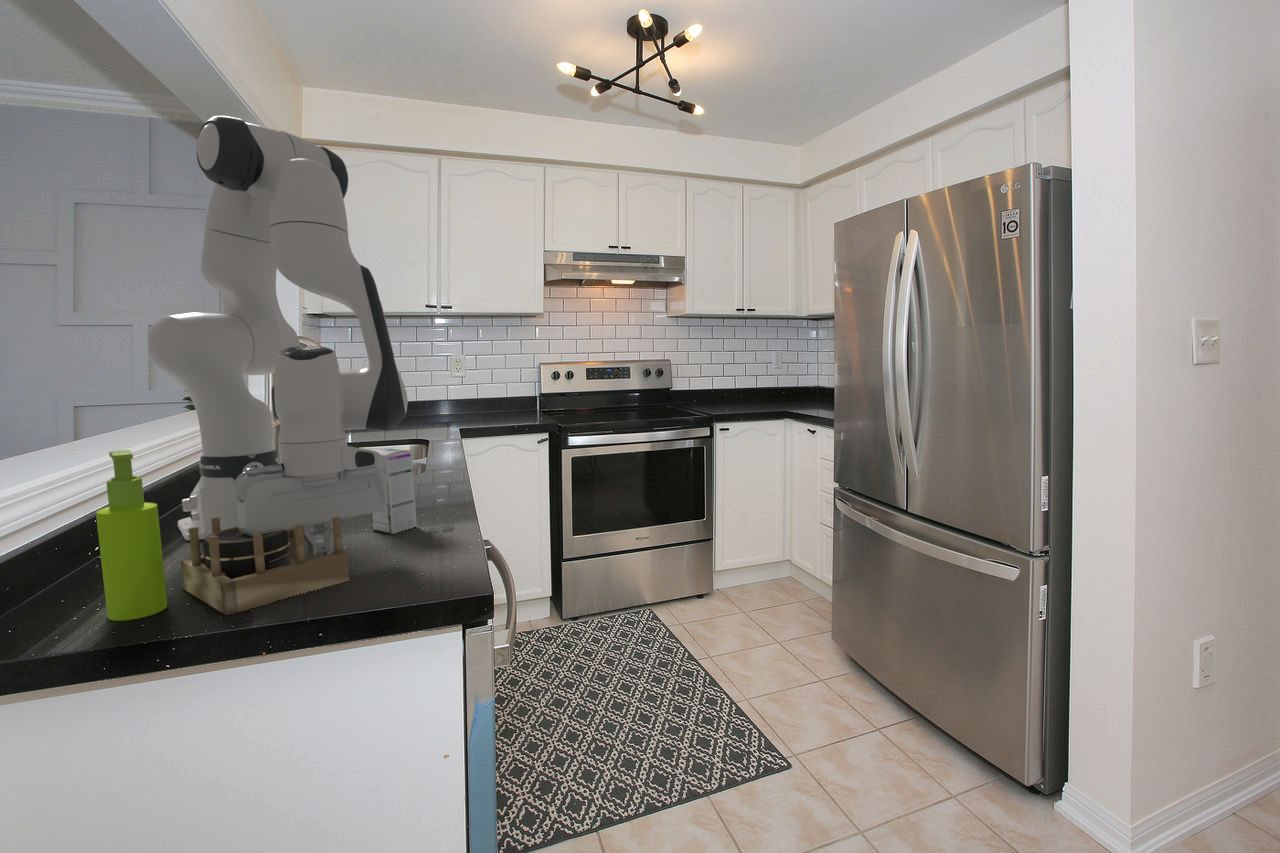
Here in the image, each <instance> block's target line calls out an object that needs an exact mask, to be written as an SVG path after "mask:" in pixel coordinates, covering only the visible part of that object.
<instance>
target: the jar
mask: <svg viewBox="0 0 1280 853" xmlns="http://www.w3.org/2000/svg"><path fill="white" fill-rule="evenodd" d="M210 536H218V541H219V552H220V563H221V574H222V575H224V576H226V577H228V578H230V579H234V578H238V577H242V576H246V575H250V574H254V573H256V566H255V555H254V543H253V536H248V535H245V534H243V533H242V532H241V531H239V529H238V527H235V528H230V529H226V530H222V531H218V532H215V533H213V534H210V535H209V536H207V537H206V538H205V539H203V542H202V544H203V546H202V548H203V553H202V554H203V555H202V556H204V558H205V566H206V567H207V568H209V569H211V560H210V549H209V539H208V537H210ZM262 539H263V551H264V563H265V571H266V570H270V569H274V568H278V567H282V566H286V565H290V552H289V544H290V541H289V531H286V530H279V531H275V532H270V533H265V534H262Z"/></svg>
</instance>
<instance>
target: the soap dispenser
mask: <svg viewBox="0 0 1280 853" xmlns="http://www.w3.org/2000/svg"><path fill="white" fill-rule="evenodd" d="M108 455H109V458H111V459H112V462H113V473H114V477H111V479H109V480H107V481H106V483H105V484H106V492H107V500H108V506H107V507H104V508H100V509H98V510H97V511H96V512H95V517H96V519H95V520H96V527H97V535H98V543H99V544H98V546H99V555H100V562H101V570H102V571H101V572H102V581H103V586H104V587H103V590H104V598H105V606H106V607H105V608H106V616H107V619H108V620H109V621H115V622H116V621H117V622H121V621H123V622H125V621H132V620H133V621H134V620H137V619H141V618H146V617H150V616H152V615H156V614H157V613H160V612H163V611H164V610H166V608H167V607H168V598H167V597H168V596H167V587H166V578H165V568H164V567H165V566H164V559H163V549H162V548H163V547H162V538H161V528H160V527H161V526H160V519H159V508H158V504H157V503H154V502H146V501H145V496H144V488H143V478H142V477H139V476H137V475H135V474H133V466H132V465H133V464H132V460H133V458H134V455H133V453H132V451H131V450H129V449H126V450H125V449H123V450H115V451H109V453H108Z"/></svg>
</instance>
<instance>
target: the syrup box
mask: <svg viewBox="0 0 1280 853" xmlns="http://www.w3.org/2000/svg"><path fill="white" fill-rule="evenodd" d="M374 451H376V452H378V453H380V455H381V463H380V464H379V465H378V466H377V467H379V468H381V469H382V470H383V472H384V474H385V478H386V483H387V490H388V504H387V506H386V508H385V509H384V510H383V511H379V512H374V513H370V516H371V519H370V520H371V521H370V522H371V530H372V531H374V532H379V533H380V532H381V533H383V534H384V533H385V534H389V535H394V534H395V535H396V534H399V533H398V532H400V533H402V532H401V531H403V532H405V531H404V530H407V531H409V530H408V529H410V530H412V529H411V528H413V529H415V528H414V527H416V528H417V527H418V525H417V524H418V523H417V511H416V496H415V495H416V494H415V480H414V464H413V463H414V462H413V451H412V450H411V449H403V448H393V447H392V448H391V447H390V448H380V449H375V450H374Z"/></svg>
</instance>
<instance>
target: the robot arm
mask: <svg viewBox="0 0 1280 853" xmlns="http://www.w3.org/2000/svg"><path fill="white" fill-rule="evenodd" d="M196 140H197V141H196V161H197V163H198V166H199V168H200V169H201V170H200V171H202V172H203V174H204V176H206V178H207V179H208V180H210V181H212V182H213V183H214V185H213V188H212V191H211V194H210V198H209V201H208V206H207V211H206V217H205V221H204V222H205V224H204V234H203V242H202V252H201V260H200V261H201V262H200V271H201V275H202V277H203V278H204V279H205V281H206V282H207V283H208V284H209V285H210V286H212V287H213V288H214V289H216V290H217V291H219V293H220V295H221V298H222V300H223V301H222V302H223V305H224V309H223V310H224V312H223V313H213V312H212V313H210V312H196V311H195V312H194V311H193V312H192V311H191V312H185V313H184V312H183V313H177V314H171V315H164V316H162V317H160V318H158V319H157V320H156V321H155V322H154V323H153V325H152V326H151V328H150V330H149V333H148V336H147V347H148V353H149V355H150V357H151V358H152V361H153V362H154V364H156V365H157V367H158V368H159V369H160V370H162V371H163V372H165V373H167V374H168V375H170V376H171V377H172V378H173V379H175V380H176V381H177V382H178V383H179V384H180V386H181V387H182V388H183V389H184V390H185V391H186V393H187V395H188V397H189V398H190V400H191V402H192V404H193V406H194V409H195V411H196V415H197V419H198V425H199V426H198V427H199V432H200V438H201V440H200V441H201V449H202V454H201V456H200V462H199V463H198V464H199V465H198V466H199V475H200V479H199V480H198V482H197V483H196V485H195V487H194V488H193V491H191V493H190V495H189V498H183V499H181V506H182V507H181V508H182V512H190V516H189V517H184V518H182V519H179V520H178V521H177V527H178V529H179V531H180V532H181V534H182V537H183V538H184V539H185V540H184V541H190V537H189V528H192V527H198V533H199V541H200V540H204V539H205V538H206V537H207V536H209V535H210V534H212V526H211V518H216V517H219V519H220V530H221V531H222V530H226V529H230V528H235V527H238V529H239V531H241V532H242V533H243V534H245V535H248V536H253V535H254V534H265V533H270V532H275V531H279V530H286V531H288V530H293V529H295V528H294V526H297V525H303V532H304V542H305V543H307V552H308V555H310V556H311V557H312V556H313V557H314V556H317V555H321V554H325V553H330V552H333V551H334V535H333V521H332V518H335V517H340V520H341V521H342V520H345V519H350V518H355V517H358V516H359V517H360V516H364V515H369V514H370V515H371V513H374V512H379V511H383V510H384V509H385V508H386V506H387V504H388V490H387V483H386V478H385V474H384V472H383V470H382V469H381V468H379V467H377V466H378V465H379V464H380V463H381V455H380V453H378V452H376V451H375V450H371V449H365V448H361V447H359V446H357V445H356V446H355V445H351V444H350V445H349V444H348V443H347V442H348V441H347V440H348V438H347V433H346V431H349V430H352V431H353V430H366V431H383V432H384V431H387V432H388V431H390V430H391V429H393V428H394V427H396V426H397V425H398V424H399V423H400V422H401V421H402V420H403V419H404V418H405V417H406V415H407V410H408V404H409V403H408V400H409V399H408V395H407V394H408V393H407V389H406V386H405V384H404V381H403V379H402V376H401V374H400V372H399V369H398V367H397V364H396V360H395V356H394V354H395V353H394V350H393V345H392V341H391V337H390V333H389V329H388V324H387V320H386V316H385V312H384V308H383V305H382V302H381V300H380V296H379V291H378V287H377V284H376V281H375V278H374V277H373V273H372V272H371V271H370V269H369V268H368V267H365V266H364V265H362V264H360V263H359V261H357V258H356V257H355V255H354V253H353V251H352V249H351V246H350V241H349V229H348V228H349V226H348V217H347V212H346V206H345V201H344V199H345V196H346V194H347V192H348V189H349V188H348V187H349V174H348V170H347V166H346V164H345V162H344V160H343V159H342V158H341V157H340V156H339V155H338V154H336V153H335V152H334V151H331V150H330V149H328V148H327V147H324V146H322V145H316V144H314V143H312V142H310V141H308V140H307V139H304V138H301V137H299V136H296V135H294V134H292V133H289V132H287V131H284V130H276V129H273V128H270V127H267V126H263V125H259V124H256V123H255V124H254V123H250V122H245V121H244V120H243V119H242V118H238V117H233V116H227V115H215V116H214V115H213V116H212V117H211V118H209V119H207V121H205V122H204V123H203V124H202V127H201V128H200V130H199V133H198V136H197V139H196ZM277 270H278V271H279V273H280V274H281V275H282V276H283V277H284V278H285V279H286V280H287V281H289V282H291V284H294V285H295V286H297V287H299V288H301V289H303V290H306V291H308V292H310V293H312V294H315V295H317V296H321V297H324V298H326V299H328V300H332V301H335V302H337V303H338V304H339V303H340V304H341V305H344V306H345V307H347V308H349V310H351V311H352V312H353V313H354V314H355V315H356V318H357V320H358V322H359V326H360V330H361V333H362V338H363V342H364V346H365V351H366V355H367V358H368V365H367V366H365V367H363V368H340V366H339V365H340V364H339V362H338V357H337V354H336V352H335V351H334V350H333V349H332V348H329V347H325V346H320V345H319V346H318V345H317V346H315V345H302V346H301V344H300V339H299V336H298V333H297V332H296V331H295V329H294V328H293V326H292V325H290V323H288V322H287V320H286V318H285V317H284V315H283V312H282V310H281V308H280V304H279V300H278V295H277V283H276V282H277ZM271 374H274V380H273V381H274V383H273V386H272V388H271V402H272V404H271V405H272V411H271V408H269V406H268V405H267V404H266V403H265V402H263V401H262V400H260V399H258V398H256V397H254V396H253V395H252V393H251V392H250V391H249V389H248V387H247V385H246V383H245V380H244V377H245V376H266V375H271ZM272 415H273V416H272ZM272 417H274V418H275V419H276V420H277V421H278V422H279V432H278V435H277V448H278V449H275V443H274V442H275V440H274V439H275V438H274V429H273V418H272ZM277 450H278V451H277ZM321 524H323V526H324V527H326V530H325V532H324V535H323V538H320V539H317V540H316V539H315V538H314V536H313V535H312V534H313V533H315V525H317V526H318V525H321ZM288 532H289V531H288Z"/></svg>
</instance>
